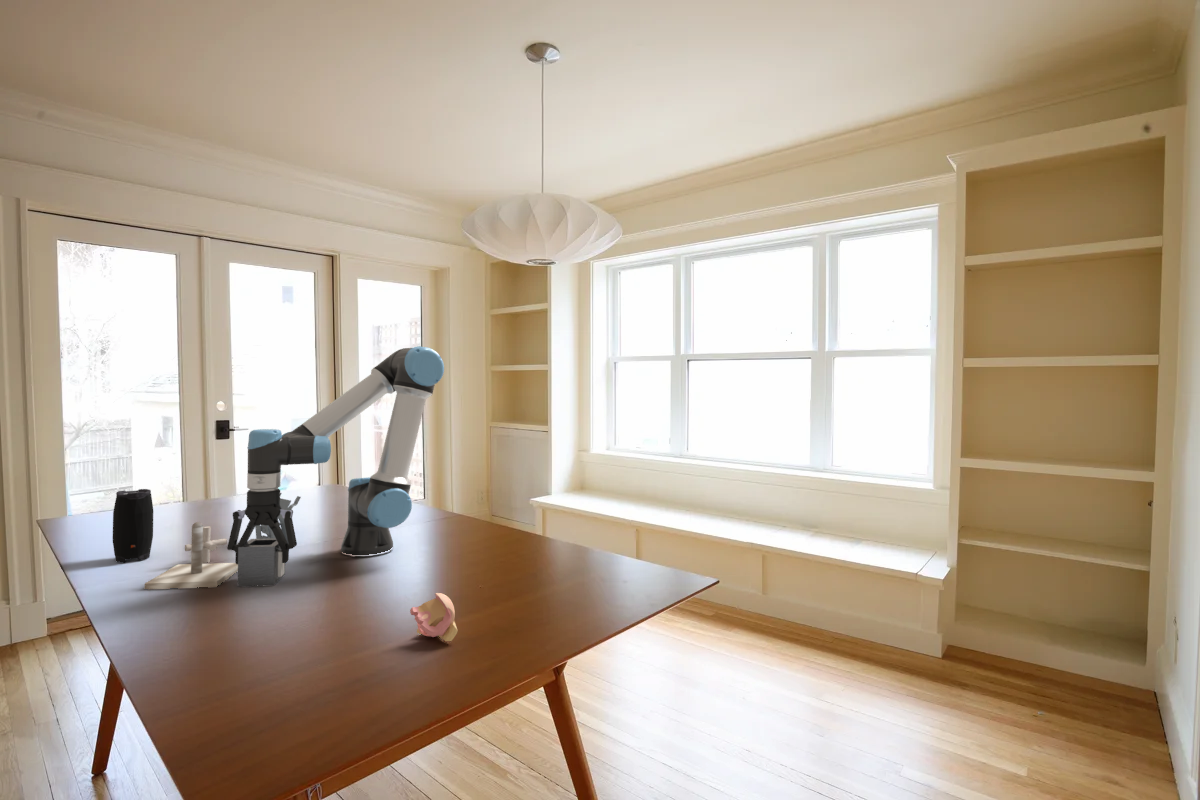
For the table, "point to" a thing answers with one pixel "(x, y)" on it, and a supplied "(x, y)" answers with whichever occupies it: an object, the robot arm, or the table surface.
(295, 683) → the table surface
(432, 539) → the table surface
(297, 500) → the bracket
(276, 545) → the gray open tub
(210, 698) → the table surface
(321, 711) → the table surface
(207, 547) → the wooden peg rack
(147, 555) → the portable speaker
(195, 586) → the keeper board
